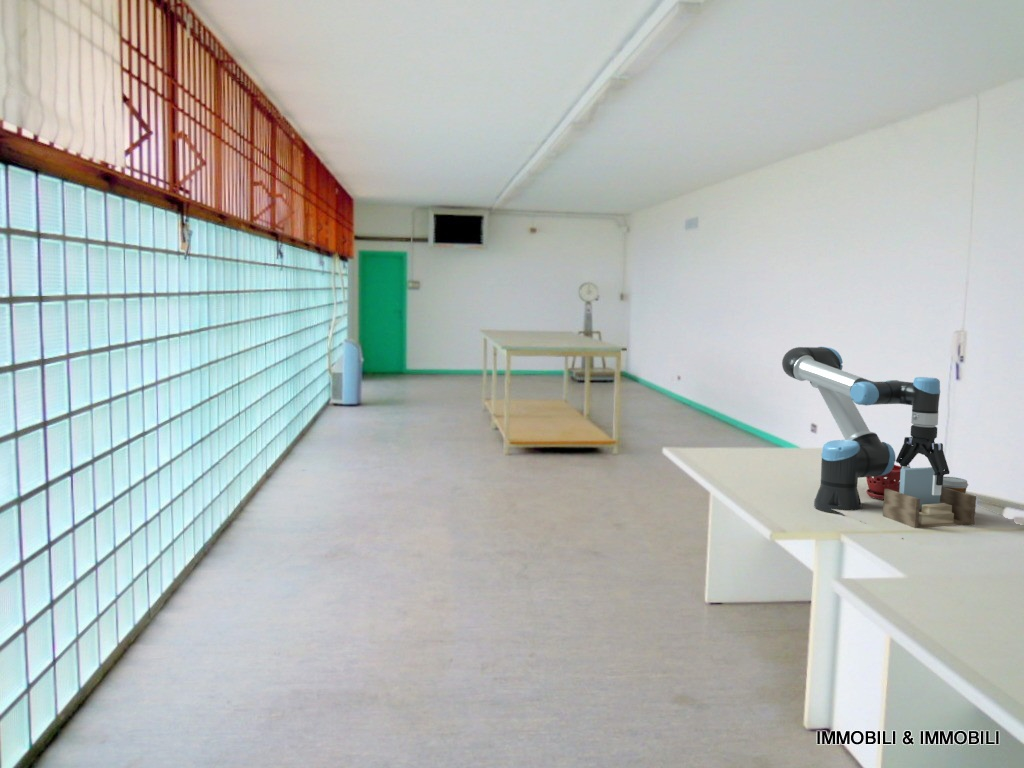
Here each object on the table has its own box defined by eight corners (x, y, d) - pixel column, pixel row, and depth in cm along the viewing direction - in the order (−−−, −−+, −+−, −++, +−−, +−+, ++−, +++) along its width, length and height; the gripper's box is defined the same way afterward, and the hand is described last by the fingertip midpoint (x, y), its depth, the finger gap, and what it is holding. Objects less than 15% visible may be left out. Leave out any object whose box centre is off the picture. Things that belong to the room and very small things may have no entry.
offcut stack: (913, 521, 240) (914, 504, 239) (945, 519, 243) (946, 502, 242) (922, 524, 236) (923, 507, 236) (954, 522, 239) (955, 505, 239)
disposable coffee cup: (973, 517, 252) (975, 482, 251) (947, 518, 251) (950, 482, 249) (952, 510, 261) (954, 476, 260) (927, 510, 260) (929, 476, 259)
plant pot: (864, 499, 275) (866, 467, 274) (865, 492, 287) (866, 461, 285) (905, 504, 269) (907, 470, 268) (903, 496, 281) (905, 464, 280)
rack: (882, 520, 246) (884, 488, 245) (939, 517, 251) (941, 486, 251) (914, 532, 233) (916, 499, 232) (973, 529, 238) (976, 496, 237)
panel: (897, 517, 245) (900, 468, 244) (934, 515, 248) (937, 467, 247) (902, 518, 243) (905, 469, 242) (938, 516, 247) (942, 468, 245)
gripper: (886, 420, 254) (883, 482, 256) (944, 431, 230) (940, 499, 232) (905, 419, 256) (902, 481, 258) (965, 430, 232) (960, 498, 234)
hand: (920, 490), depth 245 cm, fingers open, 13 cm apart
